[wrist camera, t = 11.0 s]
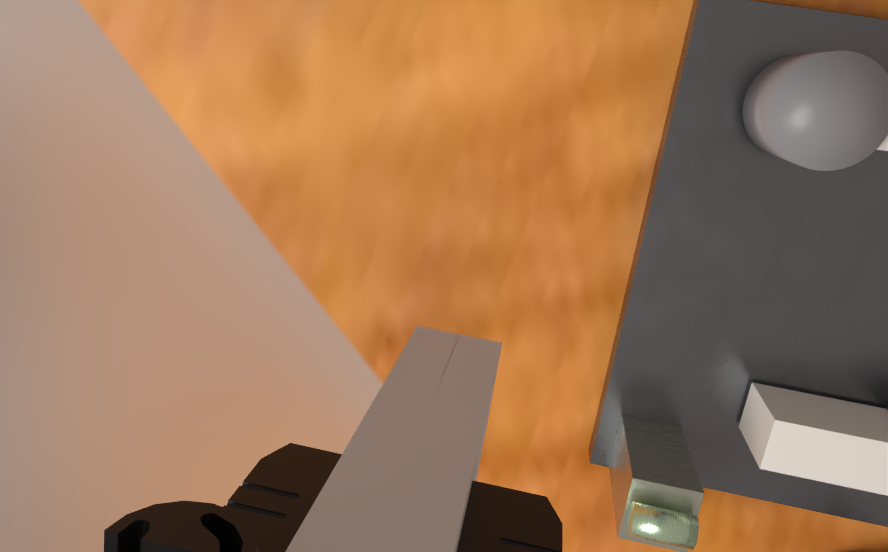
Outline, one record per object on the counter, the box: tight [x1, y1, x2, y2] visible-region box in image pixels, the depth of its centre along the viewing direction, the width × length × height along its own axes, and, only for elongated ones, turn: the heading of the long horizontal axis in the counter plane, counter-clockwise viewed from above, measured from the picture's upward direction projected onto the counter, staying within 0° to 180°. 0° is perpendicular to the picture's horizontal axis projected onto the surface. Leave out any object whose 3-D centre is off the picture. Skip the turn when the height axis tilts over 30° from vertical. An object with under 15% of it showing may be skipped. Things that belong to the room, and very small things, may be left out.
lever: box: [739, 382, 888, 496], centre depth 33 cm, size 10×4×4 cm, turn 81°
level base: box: [589, 0, 888, 552], centre depth 31 cm, size 23×16×9 cm
